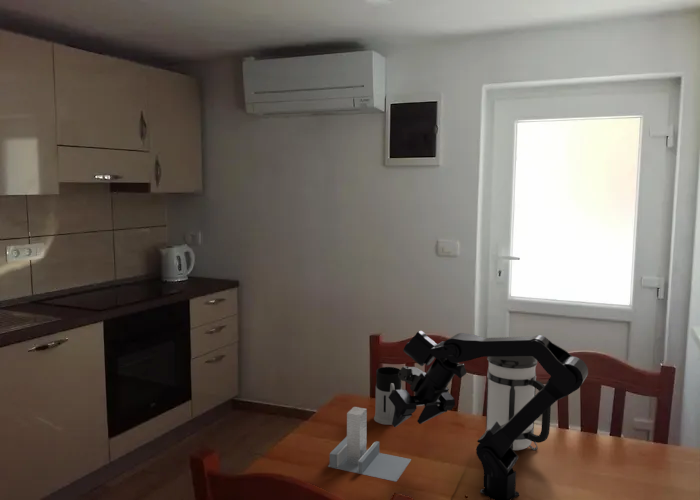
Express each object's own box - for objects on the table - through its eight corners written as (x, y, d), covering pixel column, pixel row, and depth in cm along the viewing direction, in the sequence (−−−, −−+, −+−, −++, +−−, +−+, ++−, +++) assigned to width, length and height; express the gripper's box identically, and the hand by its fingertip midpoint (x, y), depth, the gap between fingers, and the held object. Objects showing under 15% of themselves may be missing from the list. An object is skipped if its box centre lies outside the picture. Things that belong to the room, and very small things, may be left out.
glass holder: (400, 412, 179) (400, 365, 177) (408, 432, 165) (409, 381, 163) (372, 413, 178) (372, 366, 177) (377, 433, 164) (378, 382, 163)
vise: (411, 463, 147) (411, 446, 146) (396, 485, 136) (396, 467, 135) (346, 449, 154) (347, 433, 154) (327, 470, 143) (327, 453, 143)
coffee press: (478, 457, 150) (481, 345, 147) (482, 431, 166) (486, 330, 162) (548, 467, 145) (553, 351, 142) (546, 440, 160) (551, 335, 157)
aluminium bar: (366, 457, 148) (366, 408, 146) (359, 465, 144) (360, 415, 142) (353, 454, 149) (354, 406, 148) (346, 462, 145) (347, 413, 143)
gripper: (442, 354, 149) (413, 398, 155) (392, 355, 137) (362, 402, 143) (469, 385, 142) (438, 430, 148) (418, 389, 130) (386, 437, 135)
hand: (406, 424), depth 144 cm, fingers open, 9 cm apart
